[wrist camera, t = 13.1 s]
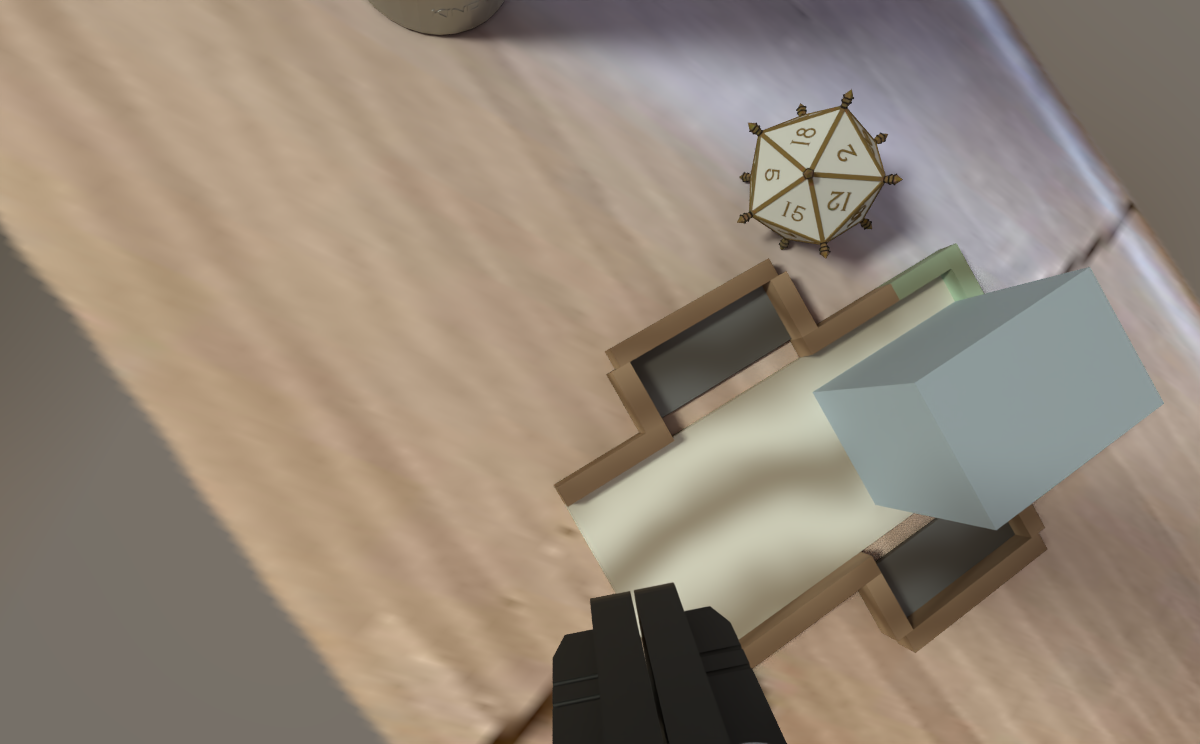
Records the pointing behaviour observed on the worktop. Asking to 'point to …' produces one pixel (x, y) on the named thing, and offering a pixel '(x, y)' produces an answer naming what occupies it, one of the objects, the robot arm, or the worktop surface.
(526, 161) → the worktop surface
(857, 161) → the game die
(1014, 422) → the brick
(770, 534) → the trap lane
